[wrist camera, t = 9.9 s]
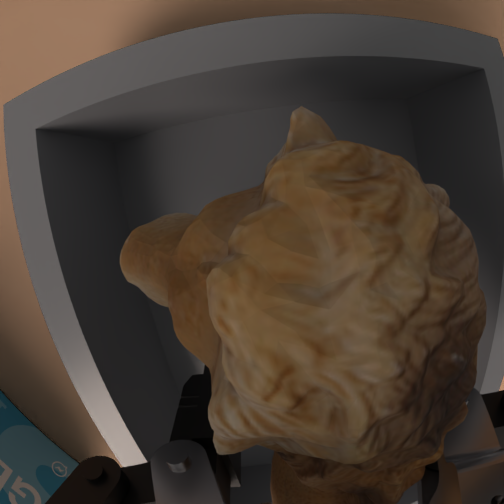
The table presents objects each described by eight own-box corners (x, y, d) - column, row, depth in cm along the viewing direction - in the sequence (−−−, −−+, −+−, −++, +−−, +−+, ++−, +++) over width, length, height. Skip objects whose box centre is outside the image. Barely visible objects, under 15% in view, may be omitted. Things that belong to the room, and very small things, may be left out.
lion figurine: (201, 231, 11) (5, 124, 2) (350, 209, 11) (537, 71, 2) (259, 537, 10) (250, 680, 1) (368, 520, 10) (417, 651, 1)
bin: (93, 126, 12) (3, 105, 6) (414, 78, 11) (497, 39, 5) (199, 470, 16) (189, 544, 11) (416, 429, 16) (452, 493, 10)
